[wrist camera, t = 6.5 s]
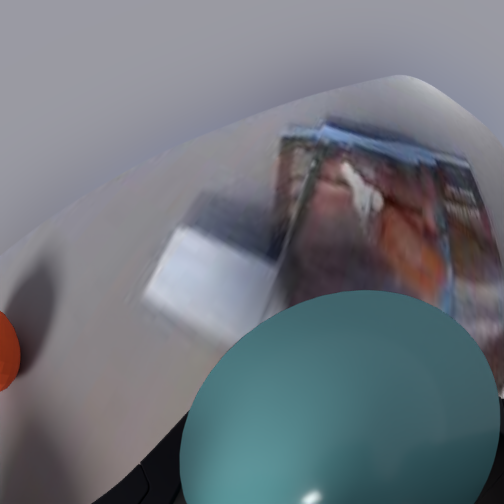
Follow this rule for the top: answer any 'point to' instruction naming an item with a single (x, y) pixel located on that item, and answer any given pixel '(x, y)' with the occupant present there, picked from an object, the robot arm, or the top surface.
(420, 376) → the cylinder
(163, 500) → the robot arm
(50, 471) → the top surface
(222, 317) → the top surface
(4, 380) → the clementine
